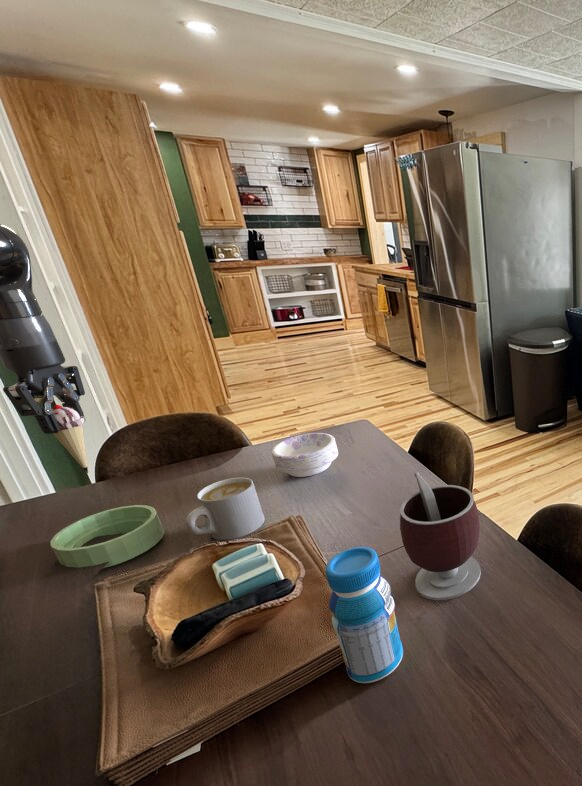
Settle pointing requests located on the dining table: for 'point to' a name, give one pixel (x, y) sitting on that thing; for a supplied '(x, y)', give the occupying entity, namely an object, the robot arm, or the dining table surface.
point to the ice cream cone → (71, 433)
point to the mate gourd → (441, 539)
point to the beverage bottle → (363, 615)
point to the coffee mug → (227, 509)
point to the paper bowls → (305, 454)
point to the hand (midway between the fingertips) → (65, 425)
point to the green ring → (127, 519)
